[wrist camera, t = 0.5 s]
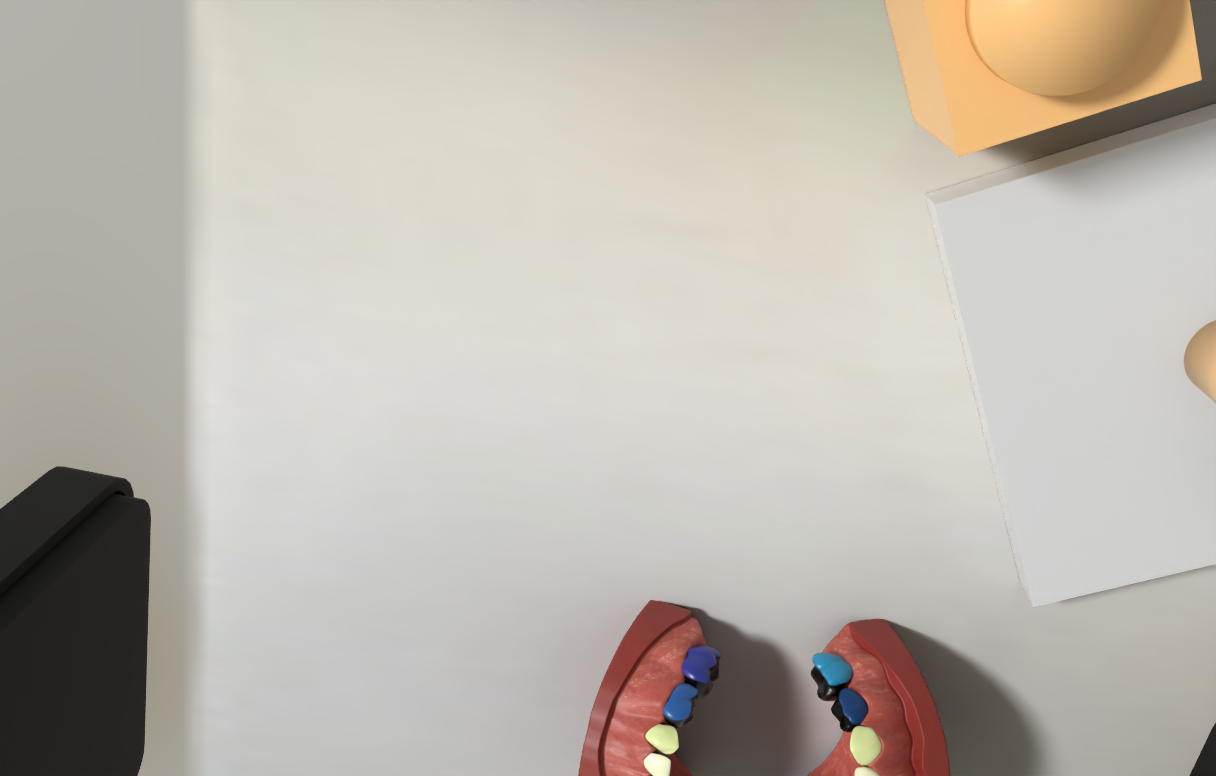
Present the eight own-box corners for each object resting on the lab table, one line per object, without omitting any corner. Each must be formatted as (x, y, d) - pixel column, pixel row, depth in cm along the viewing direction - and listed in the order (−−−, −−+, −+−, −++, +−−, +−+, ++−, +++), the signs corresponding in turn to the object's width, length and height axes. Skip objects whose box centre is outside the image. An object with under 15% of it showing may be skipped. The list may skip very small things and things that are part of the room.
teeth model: (581, 706, 33) (981, 746, 33) (597, 586, 39) (938, 619, 38) (567, 905, 37) (928, 943, 36) (584, 768, 42) (896, 799, 42)
